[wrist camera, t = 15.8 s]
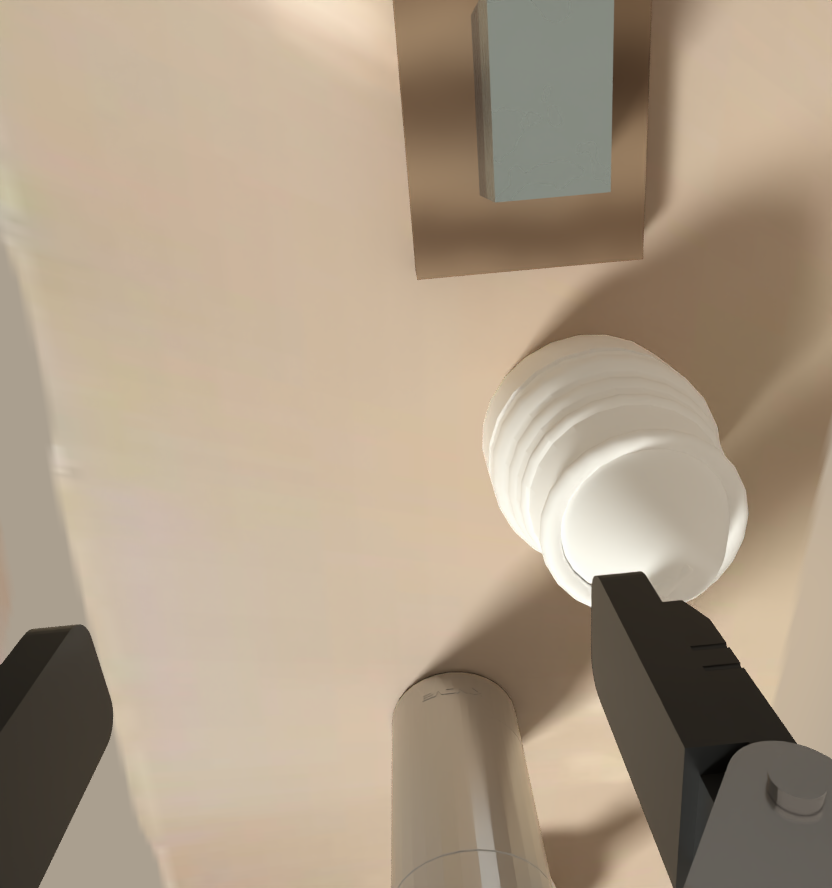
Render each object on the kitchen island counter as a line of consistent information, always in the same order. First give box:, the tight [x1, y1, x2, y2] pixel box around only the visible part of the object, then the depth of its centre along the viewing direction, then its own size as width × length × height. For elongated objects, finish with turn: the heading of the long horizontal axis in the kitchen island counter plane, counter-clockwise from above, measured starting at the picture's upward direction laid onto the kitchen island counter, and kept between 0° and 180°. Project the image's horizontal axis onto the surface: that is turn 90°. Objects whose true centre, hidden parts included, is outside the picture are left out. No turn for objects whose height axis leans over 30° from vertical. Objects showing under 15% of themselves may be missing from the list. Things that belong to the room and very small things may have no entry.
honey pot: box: [482, 335, 749, 607], centre depth 36 cm, size 13×13×18 cm
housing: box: [471, 0, 614, 203], centre depth 32 cm, size 5×8×6 cm, turn 5°
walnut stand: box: [393, 0, 652, 280], centre depth 36 cm, size 16×12×3 cm
